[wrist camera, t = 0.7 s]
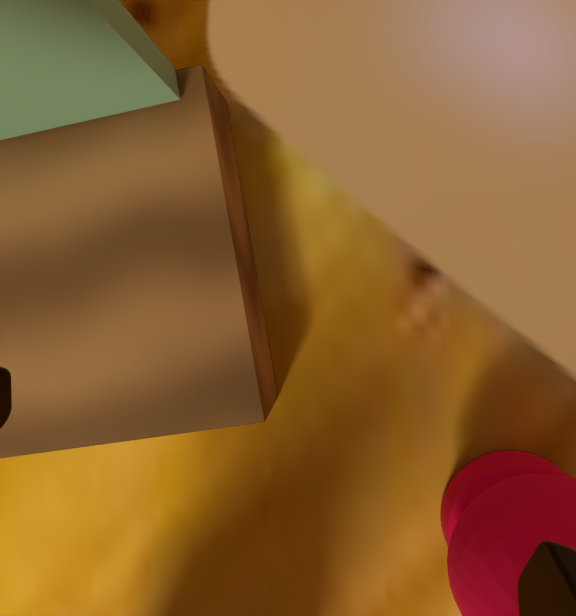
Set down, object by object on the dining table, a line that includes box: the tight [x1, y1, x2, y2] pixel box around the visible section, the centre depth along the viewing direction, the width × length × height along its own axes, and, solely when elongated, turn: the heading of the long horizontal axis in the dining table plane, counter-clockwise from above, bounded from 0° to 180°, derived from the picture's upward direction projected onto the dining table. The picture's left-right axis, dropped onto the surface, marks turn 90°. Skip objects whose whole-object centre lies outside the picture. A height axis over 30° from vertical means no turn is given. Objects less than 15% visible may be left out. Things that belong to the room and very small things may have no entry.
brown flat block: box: [0, 64, 278, 458], centre depth 22 cm, size 14×16×4 cm
